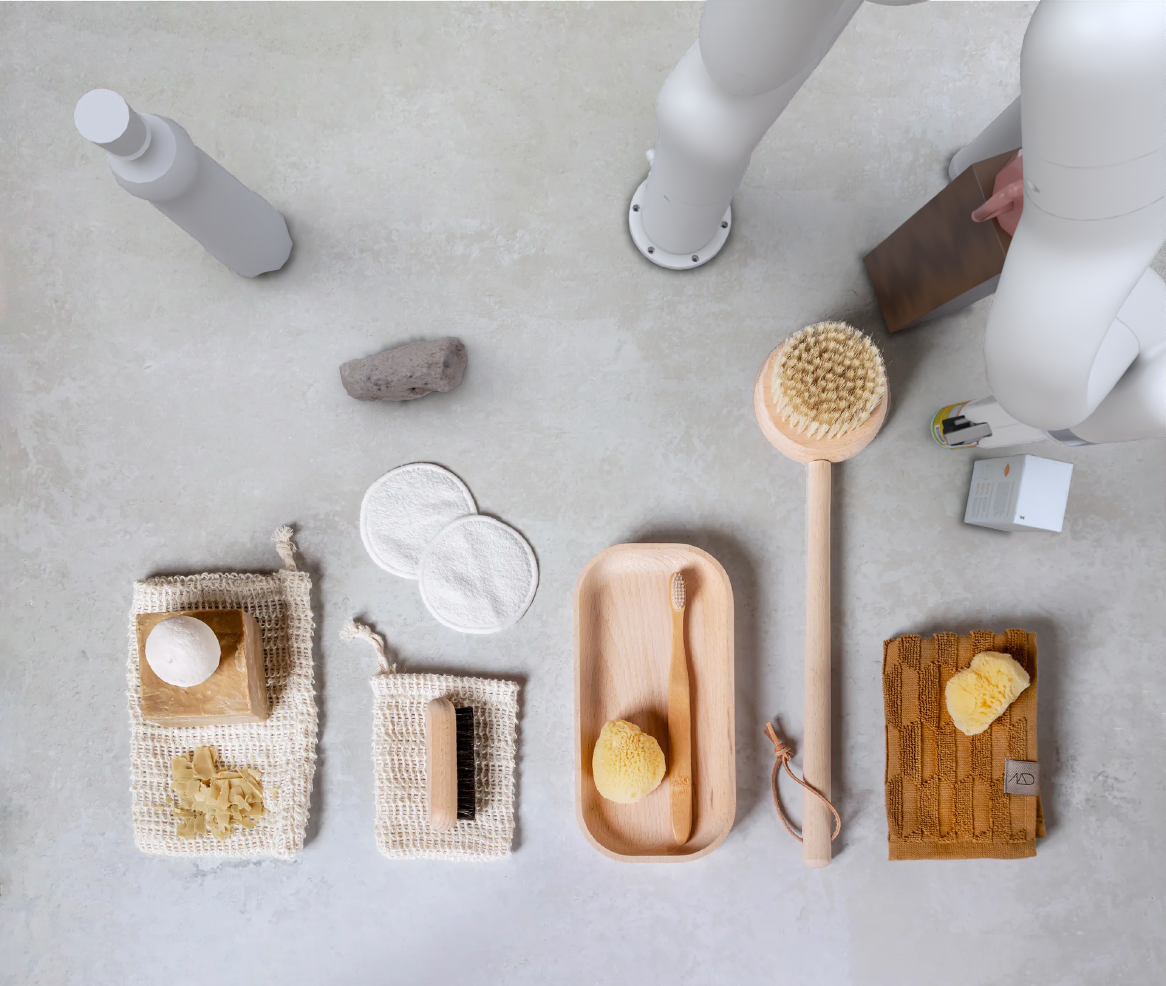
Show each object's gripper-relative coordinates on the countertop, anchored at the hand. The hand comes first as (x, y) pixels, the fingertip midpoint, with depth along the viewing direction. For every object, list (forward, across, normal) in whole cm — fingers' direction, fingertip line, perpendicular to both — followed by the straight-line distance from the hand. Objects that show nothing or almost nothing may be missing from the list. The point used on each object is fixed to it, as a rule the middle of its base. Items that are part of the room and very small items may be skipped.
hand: (973, 423), depth 84 cm
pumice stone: (+8, +61, -28) cm, 67 cm away
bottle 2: (+7, -13, -29) cm, 33 cm away
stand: (+7, -2, -18) cm, 20 cm away
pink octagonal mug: (-18, 0, -19) cm, 26 cm away
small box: (+6, -2, +10) cm, 12 cm away
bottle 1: (+8, +73, -49) cm, 88 cm away
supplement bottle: (+5, 0, 0) cm, 5 cm away
